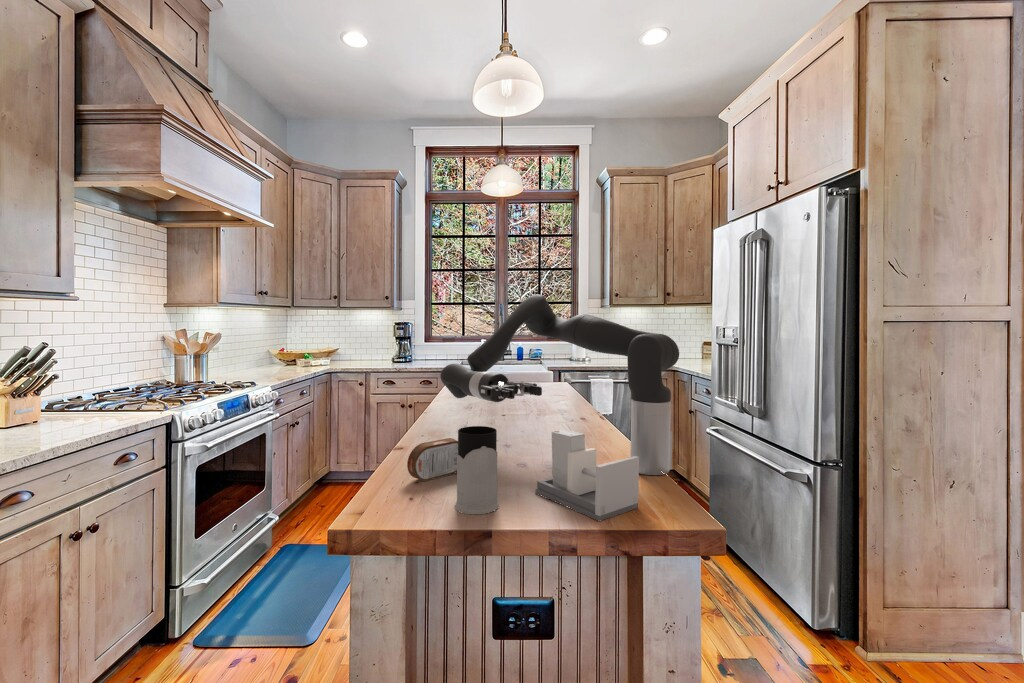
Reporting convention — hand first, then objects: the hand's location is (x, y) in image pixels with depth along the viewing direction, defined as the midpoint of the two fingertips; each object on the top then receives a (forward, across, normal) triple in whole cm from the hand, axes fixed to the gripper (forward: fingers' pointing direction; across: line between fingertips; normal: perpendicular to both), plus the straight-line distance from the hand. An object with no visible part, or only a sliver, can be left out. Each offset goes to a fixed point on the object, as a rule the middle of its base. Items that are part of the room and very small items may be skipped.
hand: (527, 392), depth 120 cm
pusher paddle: (+24, -4, +18) cm, 30 cm away
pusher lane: (+23, -4, +19) cm, 30 cm away
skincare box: (+18, -4, +18) cm, 26 cm away
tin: (-8, -20, +19) cm, 29 cm away
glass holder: (+10, -22, +19) cm, 31 cm away
